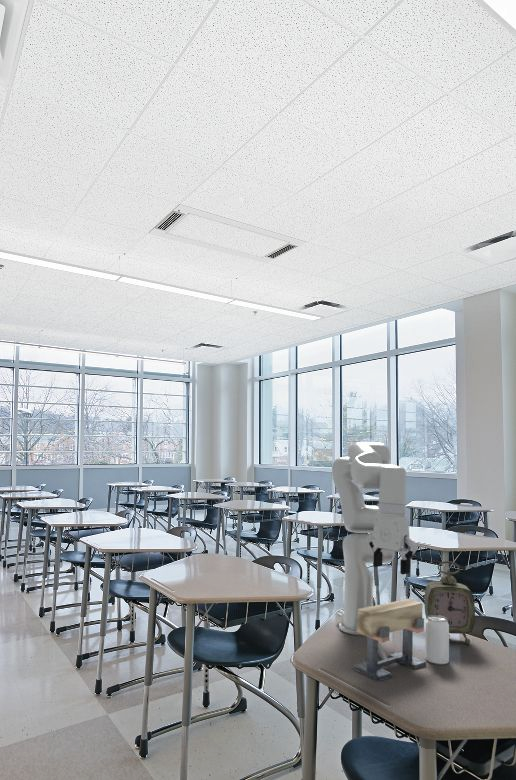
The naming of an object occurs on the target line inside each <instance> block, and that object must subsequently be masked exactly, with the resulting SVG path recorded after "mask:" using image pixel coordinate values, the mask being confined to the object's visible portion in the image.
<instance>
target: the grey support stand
mask: <svg viewBox="0 0 516 780" xmlns="http://www.w3.org/2000/svg"><path fill="white" fill-rule="evenodd" d="M424 632H425V618H424V617H422V618H417V619H415V620H414V627H410V628H406V629H402V642H401V643H402V644H401V645H402V647H401V649H402V651H399V652H398V651H397V652H395V653H390V654H389V655H388V657H387V658H388V659H385V660H382V659H381V660H379V652H378V641H379V643H385V642H390V627H388V626H384V627H380V628H379V636H375V637H369V636H366V635H364V634H362V635H361V636H363V637H364V636H365V637H366V638H367V639H366V640H367V641H366V642H367V643H366V644H367V645H366V646H367V647H366V651H367V652H366V661H364V662H360V663H357V664H354V665H353V670H354V669H356V670H355V671H357V670H358V671H357V672H359V671H360V672H359V673H361V672H362V673H361V674H363V673H364V674H363V675H365V674H366V675H365V676H367V675H368V676H367V677H369V676H371V677H372V678H371V677H370V678H371V679H373V678H375V679H374V680H375V681H378V682H380V680H381V681H384V680H387V679H389V677H390V678H392V672H390V671H387V670H385V669H384V667H387V666H388V665H390V666H391V665H394V664H397V663H399V662H400V664H401V663H402V664H401V665H404V666H406V665H407V666H406V667H408V666H409V667H408V668H411V669H413V670H417V669H419V668H422V667H426V665H427V662H426V661H425V660H423V659H420V658H418V657H415V656H414V655H413V647H414V646H413V640H414V639H413V634H414V633H416V634H419V633H424ZM357 633H359V632H357ZM359 634H361V633H359ZM386 678H387V679H386ZM383 679H384V680H383Z"/></svg>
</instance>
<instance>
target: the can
mask: <svg viewBox="0 0 516 780" xmlns="http://www.w3.org/2000/svg"><path fill="white" fill-rule="evenodd" d="M449 635H450V633H449V624H448V622H447V618H445V617H443V616H438V615H429V616H427V618H426V621H425V659H426V661H427V662H429V663H431V664H434V665H439V666H441V665H442V666H443V665H447V664H448V663H449V662H450V637H449Z"/></svg>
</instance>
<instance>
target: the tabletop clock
mask: <svg viewBox="0 0 516 780" xmlns="http://www.w3.org/2000/svg"><path fill="white" fill-rule="evenodd" d="M444 564H450V565H451V564H452V565H455V566H456V567H457V570H456V571H453V572H452V571H451V570H450V569H447V570H446V571H443V570H441V569H440V566H441V565H444ZM460 568H461V567H460V565H459V564H458V563H456V562H455V561H451V560H450V561H449V560H444V561H441V562H440V563H438V565H437V569H438V571H439V572H440V573H441V574H443V576H442V577H441V579H440V580H439V581H437V580H436V581H430V582H427V585H426V587H425V590H424V602H423V603H424V615H425V618H426V619H427V616H429V615H438V616H443V617H445V618H447V622H448V624H449V638H450V637H451V636H450V634H458V635H460V634H462V635H463V637H464V643H465V644H466V645H469V644H470V643H471V640H470V638H468V637H467V635H466V634H469V633H471V632H472V631H473V629H474V626H475V621H476V620H475V618H476V607H475V598H474V595H473V593H472V591H471V590H470V588H469V587H468V586H467V585H465V584H463V583H460V582H457V579H456V578H455V576H453V575H457V574H458V573H460V570H461V569H460Z"/></svg>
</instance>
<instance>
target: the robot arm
mask: <svg viewBox="0 0 516 780" xmlns="http://www.w3.org/2000/svg"><path fill="white" fill-rule="evenodd" d="M390 461H391V451H390V449H389V447H388V446H387V445H386V444H385V443H382V442H368V441H360V442H354V443H352V444H351V445H350V446H349V447H348V449H347V456H342V457H338V458H335V460H334V461H333V462H332V465H331V466H332V467H331V474H332V475H331V476H332V480H333V483H334V486H335V488H336V491H337V493H338V497H339V500H340V506H341V507H340V508H341V514H342V522H343V525H344V526H343V527H344V528H345V530H346V531H348V532H351V533H350V534H348V535H346V536H345V537H343V541H342V552H343V553H342V554H343V560H344V561H343V562H344V593H343V594H344V599H343V600H344V601H343V610H342V609H341V610H339V612H337V614H336V617H337V618H339V619H341V622H339V623H338V624H339V625H338V627H339V630H340V631H341V632H344V633H346V634H349V635H353V636H354V635H355V636H363V635H362V634H359V633H357V617H358V609H361V608H366V607H371V606H374V605H373V604H374V603H373V602H374V601H373V599H374V597H373V595H374V578H373V577H374V576H373V574H372V572H371V570H370V569H369V568H368V566H367V564H369V563H372V564H373V565H372V566H373V567H375V568H378V567H382V566H383V564H388V563H391V562H392V561H393V560H394V558H395V555H396V554H395V553H397V552H398V553H399V555H400V557H401V559H400V564H399V565H400V571H399V573H400V575H407V574H410V571H411V570H410V569H411V567H410V566H411V559H413V557H414V556H415V555H416V552H417V550H418V548H419V545H418V544H417V543H416V542H414V541H413V540H412V539H411V538H410V527H409V526H410V525H409V519H408V515H406V514H407V513H406V510H407V509H406V508H407V507H406V503H407V502H406V500H407V499H406V496H407V470H406V469H405V468H404V467H403V466H399V465H395V464H390ZM360 488H361V489H366V490H367V489H369V490H371V489H373V490H374V489H375V490H376V489H377V490H378V503H377V504H376V505H367V504H365V503H366V502H365V499H364V494H363V492H362V490H361V489H360Z"/></svg>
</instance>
